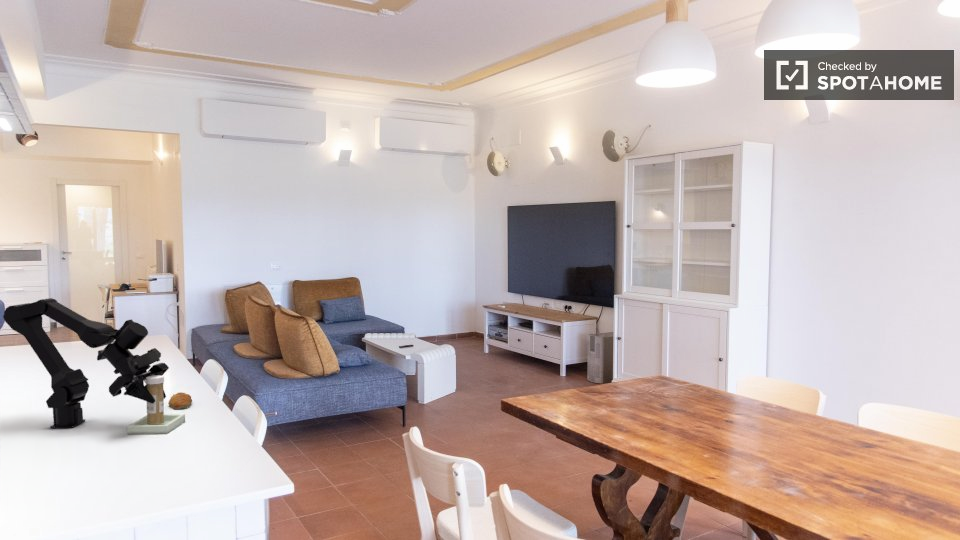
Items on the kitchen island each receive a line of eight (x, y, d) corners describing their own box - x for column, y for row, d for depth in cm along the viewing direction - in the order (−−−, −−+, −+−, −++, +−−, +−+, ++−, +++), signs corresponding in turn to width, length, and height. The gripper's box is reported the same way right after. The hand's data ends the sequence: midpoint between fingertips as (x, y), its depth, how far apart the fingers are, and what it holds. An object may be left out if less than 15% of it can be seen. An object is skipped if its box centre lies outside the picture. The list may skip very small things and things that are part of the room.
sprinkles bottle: (167, 423, 185) (167, 376, 184) (151, 426, 181) (151, 378, 181) (159, 420, 187) (158, 374, 187) (143, 423, 184) (142, 376, 183)
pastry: (194, 408, 205) (193, 396, 204) (170, 412, 201) (170, 400, 201) (190, 401, 213) (189, 390, 212) (167, 405, 209) (167, 393, 209)
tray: (127, 434, 179) (126, 426, 179) (147, 422, 190) (147, 414, 190) (167, 433, 179) (166, 426, 179) (185, 421, 190) (184, 414, 190)
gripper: (116, 347, 174) (154, 389, 173) (161, 335, 193) (196, 373, 192) (91, 375, 176) (129, 417, 175) (139, 360, 195) (173, 398, 194)
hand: (159, 400), depth 184 cm, fingers closed on sprinkles bottle, 4 cm apart
